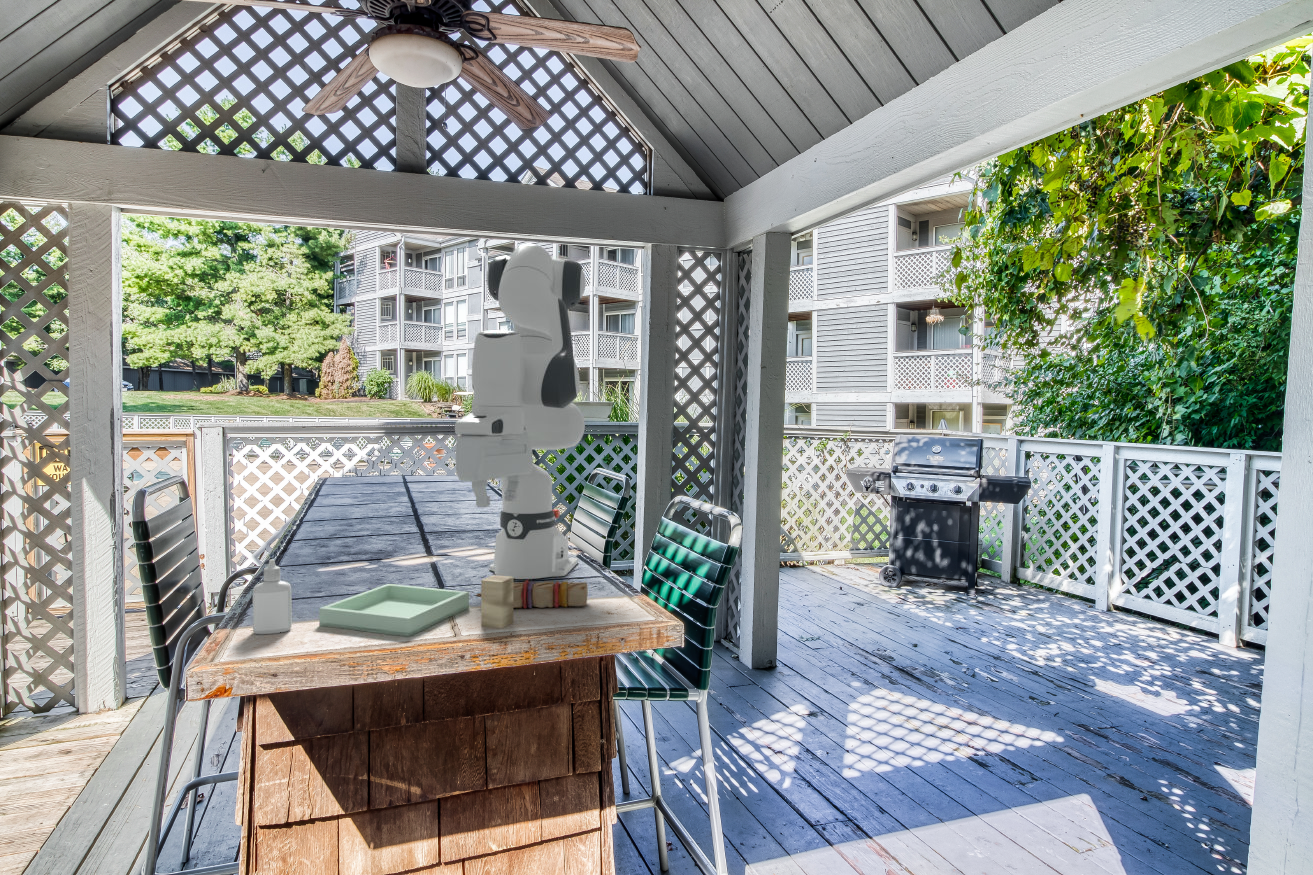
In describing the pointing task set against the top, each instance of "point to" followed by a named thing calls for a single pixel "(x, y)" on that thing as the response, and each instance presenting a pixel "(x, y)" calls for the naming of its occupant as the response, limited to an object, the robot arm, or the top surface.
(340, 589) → the top surface
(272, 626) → the eye dropper bottle
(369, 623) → the tray
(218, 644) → the top surface
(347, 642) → the top surface
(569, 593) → the skewer
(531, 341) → the robot arm
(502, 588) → the birch block
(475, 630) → the top surface
